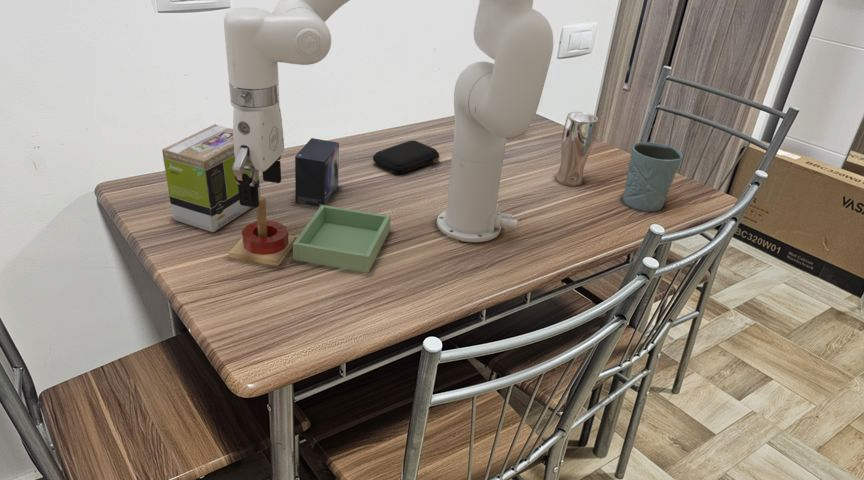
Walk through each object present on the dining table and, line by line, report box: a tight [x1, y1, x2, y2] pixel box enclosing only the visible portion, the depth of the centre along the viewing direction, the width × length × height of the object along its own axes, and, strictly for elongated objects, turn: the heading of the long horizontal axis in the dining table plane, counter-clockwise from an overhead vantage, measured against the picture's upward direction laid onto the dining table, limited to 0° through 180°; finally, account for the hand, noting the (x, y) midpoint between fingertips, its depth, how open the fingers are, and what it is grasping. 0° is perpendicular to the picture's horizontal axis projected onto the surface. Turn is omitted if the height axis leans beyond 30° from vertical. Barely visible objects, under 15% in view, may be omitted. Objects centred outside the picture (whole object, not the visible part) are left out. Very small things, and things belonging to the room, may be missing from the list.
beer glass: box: [555, 111, 599, 187], centre depth 152 cm, size 7×7×15 cm
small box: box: [294, 137, 340, 208], centre depth 139 cm, size 11×6×10 cm, turn 168°
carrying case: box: [372, 140, 440, 175], centre depth 157 cm, size 11×3×15 cm
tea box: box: [161, 123, 262, 233], centre depth 129 cm, size 15×10×15 cm, turn 154°
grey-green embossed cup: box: [622, 141, 683, 212], centre depth 145 cm, size 10×10×12 cm
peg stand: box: [228, 195, 297, 267], centre depth 119 cm, size 9×9×10 cm
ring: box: [241, 220, 289, 255], centre depth 121 cm, size 8×8×2 cm
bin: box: [292, 205, 391, 274], centre depth 124 cm, size 14×16×4 cm
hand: (261, 193), depth 116 cm, fingers open, 9 cm apart
